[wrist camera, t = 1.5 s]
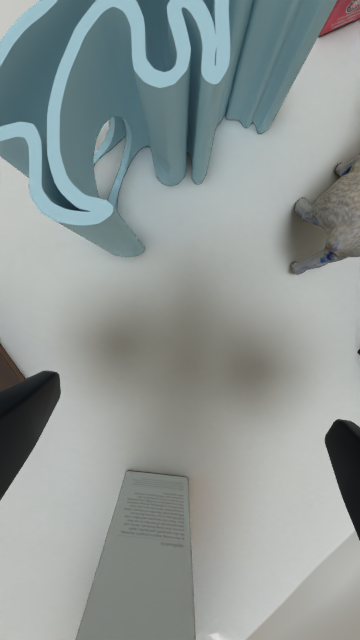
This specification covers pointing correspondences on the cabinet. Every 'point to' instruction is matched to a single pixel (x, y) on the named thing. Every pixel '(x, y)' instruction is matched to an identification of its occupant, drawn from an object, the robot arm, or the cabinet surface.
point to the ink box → (342, 15)
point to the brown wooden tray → (8, 371)
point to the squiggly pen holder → (139, 91)
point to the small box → (144, 565)
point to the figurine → (335, 217)
